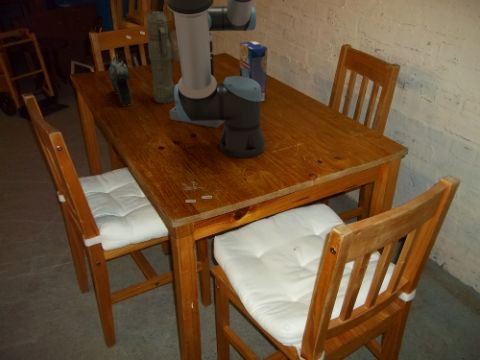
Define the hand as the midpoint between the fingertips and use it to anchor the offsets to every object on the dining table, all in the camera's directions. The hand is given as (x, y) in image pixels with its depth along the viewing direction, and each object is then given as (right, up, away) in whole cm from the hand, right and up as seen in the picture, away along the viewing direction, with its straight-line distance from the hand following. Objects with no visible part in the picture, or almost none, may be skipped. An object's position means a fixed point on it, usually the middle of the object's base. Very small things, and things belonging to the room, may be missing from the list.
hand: (204, 101), depth 161 cm
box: (0, -4, +3) cm, 5 cm away
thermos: (-18, +3, +14) cm, 23 cm away
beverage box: (+19, +5, +17) cm, 26 cm away
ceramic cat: (-36, +4, +15) cm, 40 cm away
